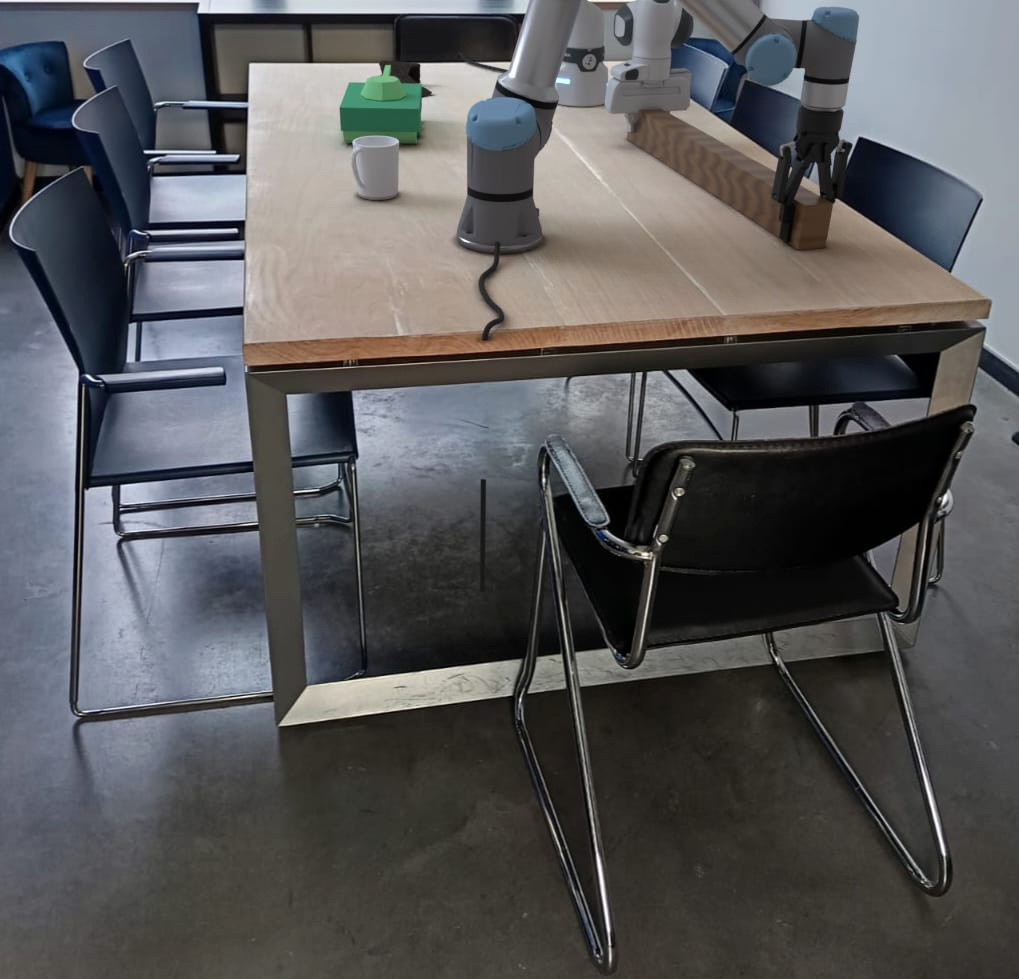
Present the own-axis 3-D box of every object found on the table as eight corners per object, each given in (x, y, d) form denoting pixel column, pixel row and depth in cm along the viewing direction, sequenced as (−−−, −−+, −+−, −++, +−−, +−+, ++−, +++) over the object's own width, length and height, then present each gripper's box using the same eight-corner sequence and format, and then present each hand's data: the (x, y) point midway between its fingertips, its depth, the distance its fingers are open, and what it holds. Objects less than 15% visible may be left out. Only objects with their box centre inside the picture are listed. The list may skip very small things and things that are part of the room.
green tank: (422, 61, 273) (418, 91, 243) (422, 112, 279) (419, 147, 249) (350, 60, 272) (338, 90, 242) (353, 111, 278) (341, 146, 248)
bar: (825, 247, 196) (833, 203, 192) (797, 250, 195) (805, 205, 190) (648, 137, 262) (651, 103, 257) (626, 139, 260) (629, 104, 256)
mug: (378, 184, 223) (375, 133, 218) (409, 193, 218) (408, 141, 213) (338, 196, 216) (335, 143, 210) (370, 205, 211) (367, 151, 206)
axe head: (443, 87, 294) (392, 77, 287) (436, 115, 299) (385, 106, 292) (421, 62, 307) (371, 52, 300) (414, 89, 311) (365, 80, 304)
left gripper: (857, 99, 192) (834, 228, 204) (762, 104, 187) (744, 235, 199) (881, 108, 186) (856, 241, 198) (783, 114, 181) (764, 249, 193)
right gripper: (686, 64, 254) (680, 126, 261) (604, 68, 249) (600, 130, 256) (698, 70, 249) (691, 132, 256) (614, 73, 244) (610, 136, 251)
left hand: (800, 238), depth 199 cm, fingers closed on bar, 6 cm apart
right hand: (645, 131), depth 256 cm, fingers closed on bar, 5 cm apart
